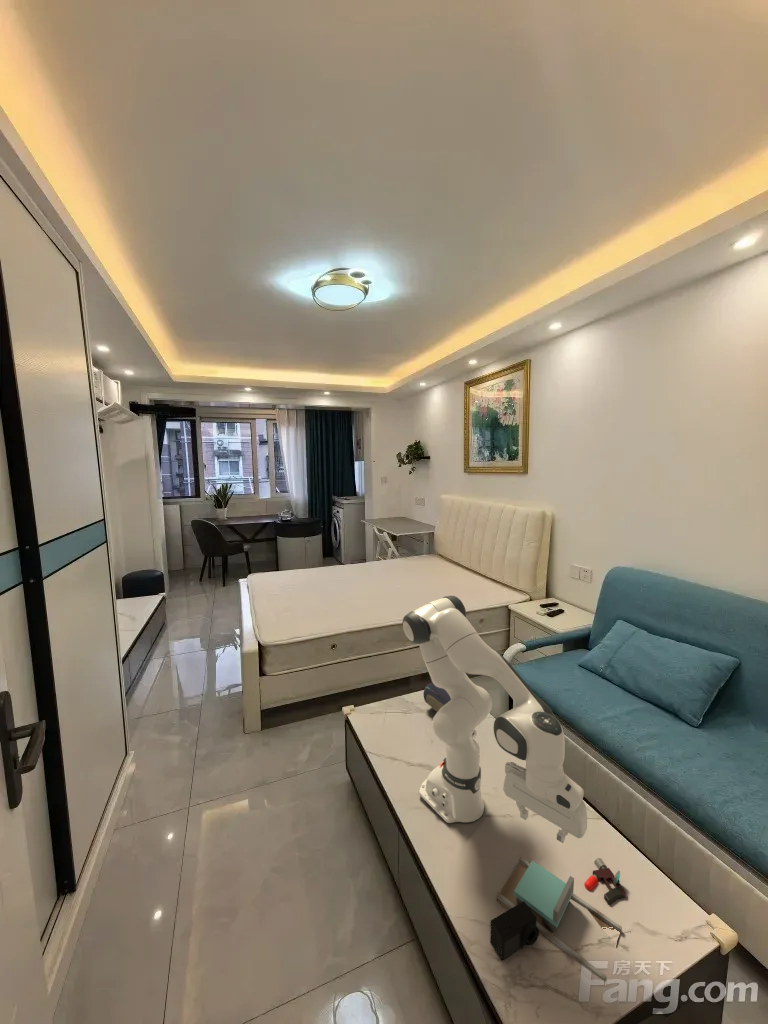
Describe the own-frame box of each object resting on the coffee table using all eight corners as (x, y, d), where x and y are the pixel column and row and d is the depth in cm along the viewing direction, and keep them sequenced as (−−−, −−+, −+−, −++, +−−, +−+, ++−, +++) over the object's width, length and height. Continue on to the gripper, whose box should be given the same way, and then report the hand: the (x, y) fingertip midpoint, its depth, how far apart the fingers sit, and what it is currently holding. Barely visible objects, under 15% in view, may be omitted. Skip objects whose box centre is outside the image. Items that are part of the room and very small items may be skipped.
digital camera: (505, 970, 94) (505, 944, 93) (489, 944, 99) (490, 919, 98) (539, 947, 98) (540, 922, 97) (523, 924, 103) (524, 900, 102)
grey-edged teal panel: (513, 904, 106) (514, 880, 105) (531, 873, 114) (532, 850, 113) (556, 937, 99) (557, 912, 98) (572, 901, 106) (574, 878, 106)
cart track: (496, 901, 108) (496, 894, 108) (520, 863, 118) (520, 856, 118) (604, 988, 90) (604, 979, 90) (621, 934, 100) (621, 926, 100)
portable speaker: (419, 703, 196) (419, 683, 195) (436, 696, 201) (436, 677, 200) (454, 732, 175) (454, 711, 173) (471, 724, 180) (472, 703, 178)
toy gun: (600, 860, 119) (601, 846, 118) (631, 904, 107) (632, 888, 106) (570, 866, 117) (570, 851, 117) (598, 911, 106) (598, 895, 105)
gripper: (499, 765, 107) (498, 812, 109) (582, 810, 93) (579, 863, 95) (510, 752, 112) (509, 797, 114) (591, 793, 98) (588, 844, 100)
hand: (541, 828), depth 104 cm, fingers open, 8 cm apart
